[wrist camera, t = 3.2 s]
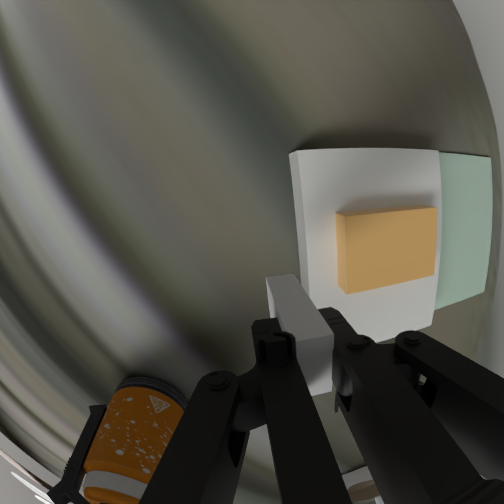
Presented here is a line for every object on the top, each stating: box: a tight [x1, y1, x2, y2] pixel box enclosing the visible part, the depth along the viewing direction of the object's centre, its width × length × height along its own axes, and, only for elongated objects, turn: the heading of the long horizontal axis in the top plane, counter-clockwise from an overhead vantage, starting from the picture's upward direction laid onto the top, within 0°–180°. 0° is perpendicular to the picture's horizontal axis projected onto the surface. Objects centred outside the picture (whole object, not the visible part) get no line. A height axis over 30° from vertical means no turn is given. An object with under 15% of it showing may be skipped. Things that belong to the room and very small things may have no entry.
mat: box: [434, 153, 492, 310], centre depth 25 cm, size 18×12×1 cm, turn 7°
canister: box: [47, 377, 187, 504], centre depth 18 cm, size 9×11×20 cm
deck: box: [289, 148, 442, 343], centre depth 23 cm, size 18×14×3 cm
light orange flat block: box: [335, 205, 437, 294], centre depth 21 cm, size 9×6×2 cm, turn 97°
